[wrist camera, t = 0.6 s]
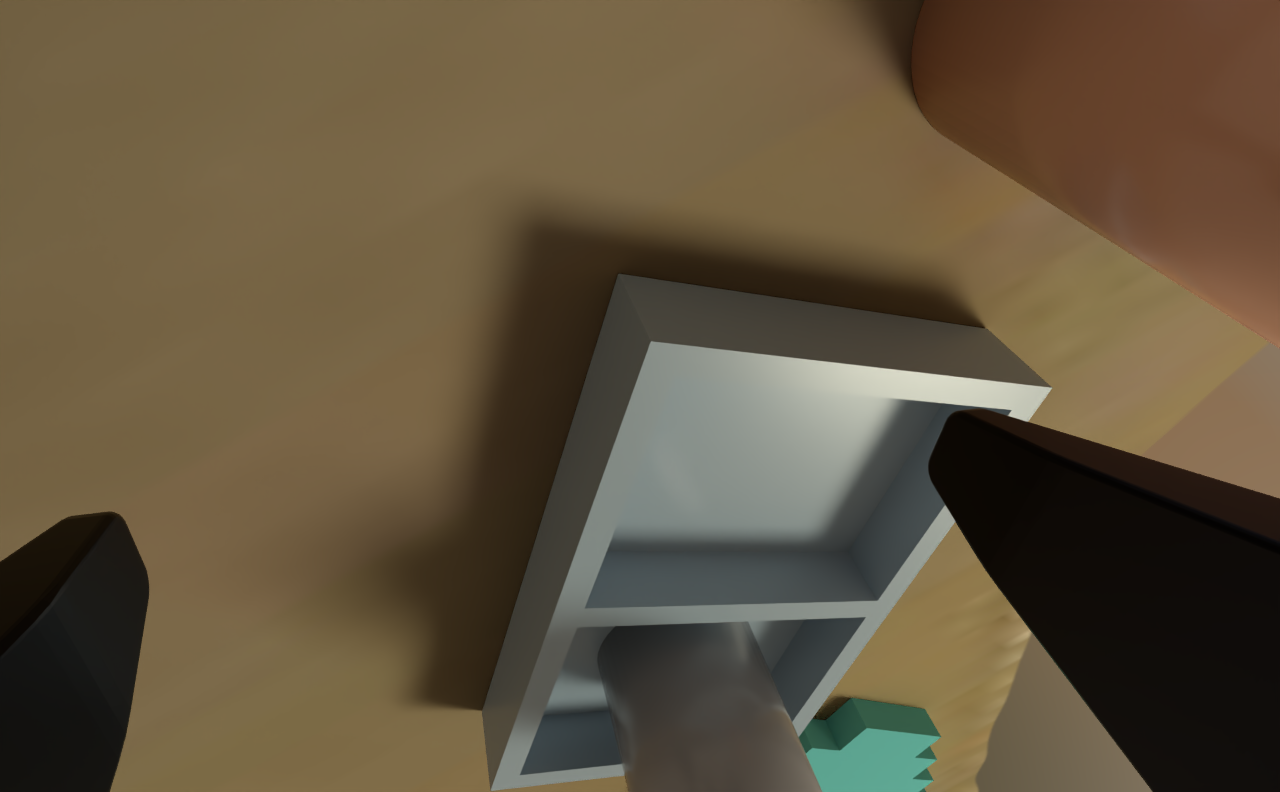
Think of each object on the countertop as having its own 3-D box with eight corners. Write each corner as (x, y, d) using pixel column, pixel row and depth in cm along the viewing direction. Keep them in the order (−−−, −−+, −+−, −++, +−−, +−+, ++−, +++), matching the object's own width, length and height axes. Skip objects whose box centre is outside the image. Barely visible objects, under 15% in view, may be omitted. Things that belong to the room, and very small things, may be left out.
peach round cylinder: (869, 119, 21) (1298, 417, 11) (1000, -167, 17) (1797, -99, 8) (1043, 166, 23) (1520, 443, 14) (1189, -77, 20) (1975, 63, 10)
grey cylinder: (580, 694, 33) (638, 964, 26) (622, 594, 29) (704, 874, 22) (715, 684, 36) (805, 928, 28) (769, 591, 32) (889, 842, 24)
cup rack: (482, 711, 34) (490, 790, 31) (618, 273, 22) (651, 341, 19) (757, 690, 39) (784, 756, 36) (987, 328, 27) (1052, 387, 24)
